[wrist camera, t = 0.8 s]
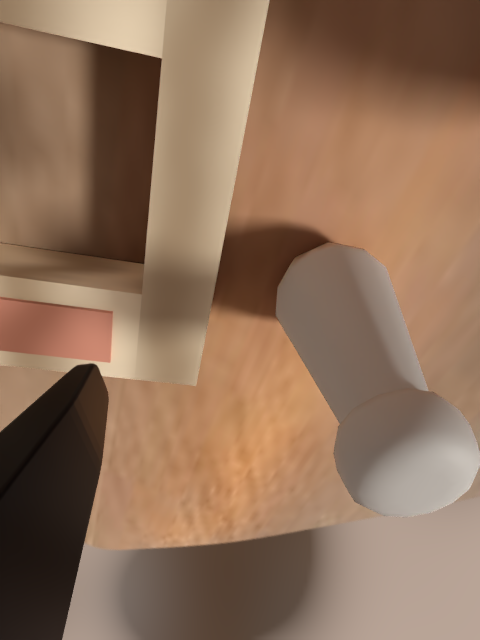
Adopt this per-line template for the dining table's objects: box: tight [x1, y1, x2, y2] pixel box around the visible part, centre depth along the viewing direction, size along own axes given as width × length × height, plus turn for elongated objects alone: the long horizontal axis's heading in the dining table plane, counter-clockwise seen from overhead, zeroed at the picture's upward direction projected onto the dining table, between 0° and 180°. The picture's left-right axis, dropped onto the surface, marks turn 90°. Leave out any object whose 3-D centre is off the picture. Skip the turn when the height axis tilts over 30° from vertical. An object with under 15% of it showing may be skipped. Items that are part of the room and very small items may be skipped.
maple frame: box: [0, 0, 270, 386], centre depth 18 cm, size 16×20×3 cm
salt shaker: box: [276, 242, 480, 517], centre depth 18 cm, size 6×6×13 cm
